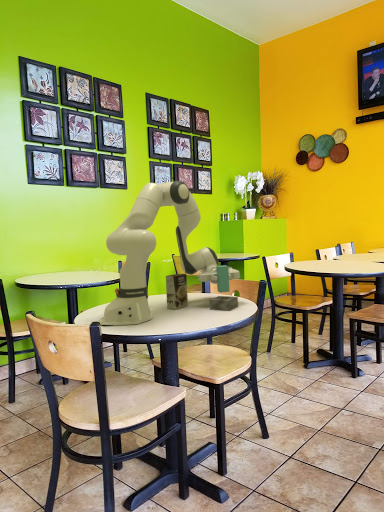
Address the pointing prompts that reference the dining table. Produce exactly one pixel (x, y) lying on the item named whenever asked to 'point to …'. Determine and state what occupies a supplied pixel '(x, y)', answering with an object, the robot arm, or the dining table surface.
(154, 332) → the dining table surface
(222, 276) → the teal pillar
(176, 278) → the coffee box
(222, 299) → the charcoal block
